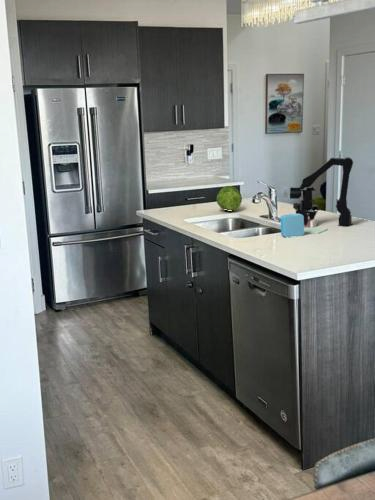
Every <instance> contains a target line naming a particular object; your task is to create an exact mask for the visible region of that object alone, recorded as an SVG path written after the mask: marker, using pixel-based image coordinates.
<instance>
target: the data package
mask: <svg viewBox="0 0 375 500" xmlns="http://www.w3.org/2000/svg"><path fill="white" fill-rule="evenodd" d="M304 228H305V227H304V216H303V215H301V214H296V213H292V214H291V213H290V214H283V215H281V216H280V235H281V237H283V236H284V237H283V238H286V237H288V238H292V237H291V236H296V237H303V236H304V235H305V233H304Z"/></svg>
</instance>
